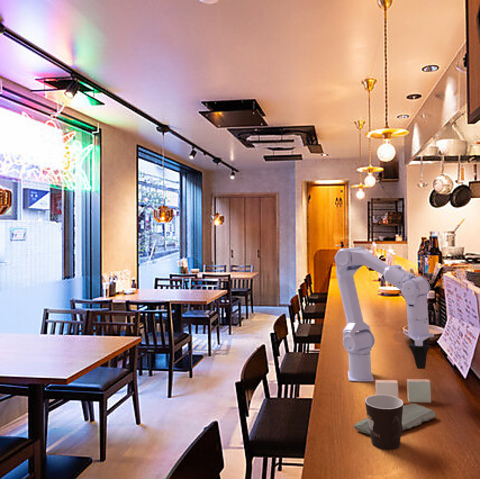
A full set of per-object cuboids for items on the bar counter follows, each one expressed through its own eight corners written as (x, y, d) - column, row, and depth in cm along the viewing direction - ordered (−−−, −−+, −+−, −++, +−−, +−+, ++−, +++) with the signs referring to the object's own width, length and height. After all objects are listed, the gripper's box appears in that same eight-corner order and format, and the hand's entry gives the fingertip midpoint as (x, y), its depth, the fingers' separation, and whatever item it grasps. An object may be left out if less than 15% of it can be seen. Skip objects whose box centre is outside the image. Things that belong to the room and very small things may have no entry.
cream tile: (376, 400, 131) (375, 379, 130) (397, 400, 129) (396, 380, 129) (376, 402, 129) (376, 382, 128) (398, 403, 127) (397, 382, 127)
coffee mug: (366, 433, 110) (365, 393, 110) (403, 436, 108) (402, 395, 107) (366, 457, 99) (364, 412, 99) (407, 461, 96) (405, 415, 96)
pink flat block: (407, 399, 130) (406, 379, 130) (429, 399, 129) (428, 379, 129) (408, 402, 128) (408, 381, 128) (431, 402, 127) (430, 381, 127)
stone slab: (439, 422, 116) (407, 406, 124) (440, 412, 116) (407, 396, 124) (380, 447, 104) (349, 427, 113) (381, 436, 104) (350, 417, 113)
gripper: (432, 323, 122) (436, 372, 122) (432, 314, 136) (435, 358, 136) (405, 323, 125) (409, 371, 125) (407, 314, 138) (410, 357, 138)
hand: (421, 364), depth 130 cm, fingers open, 7 cm apart
